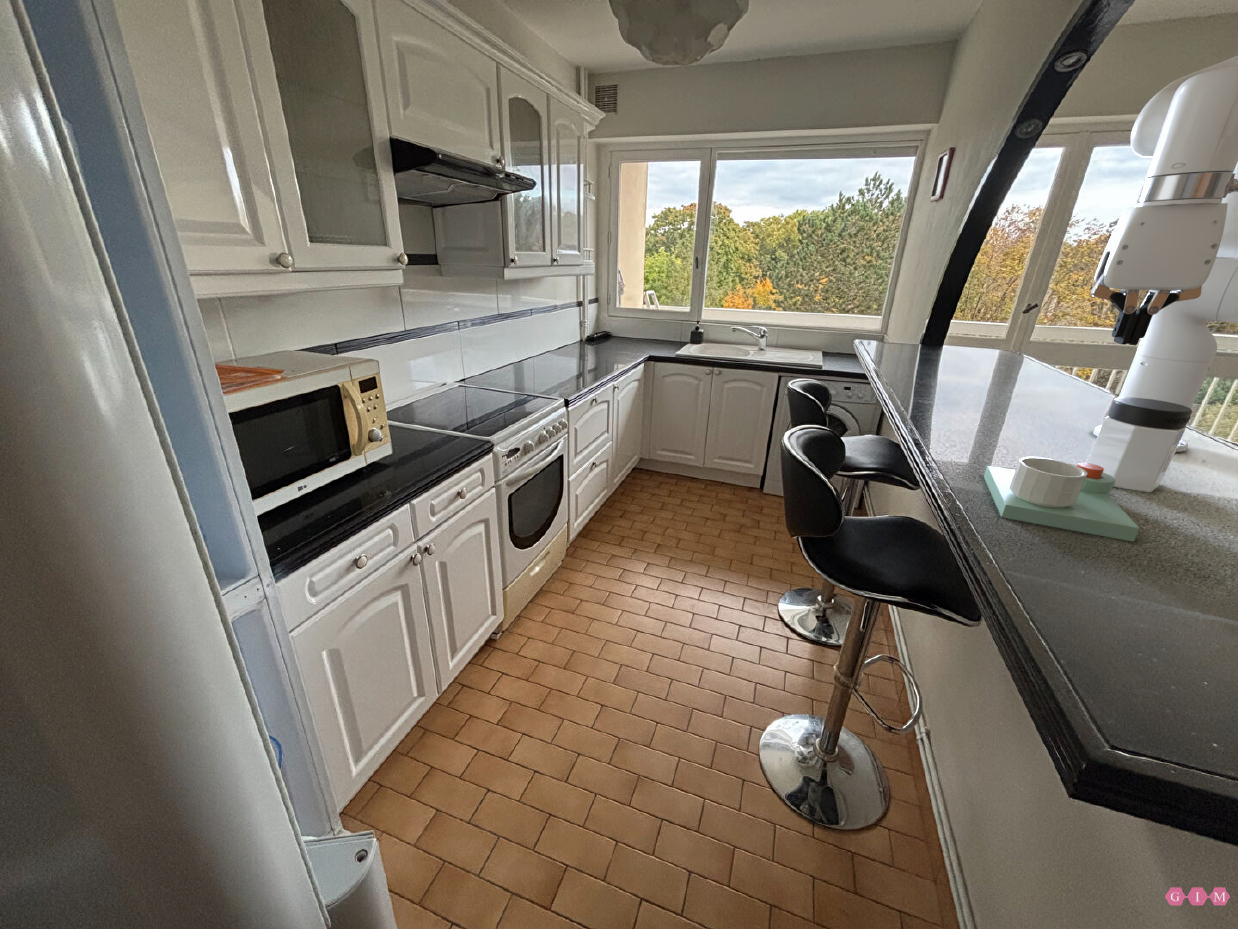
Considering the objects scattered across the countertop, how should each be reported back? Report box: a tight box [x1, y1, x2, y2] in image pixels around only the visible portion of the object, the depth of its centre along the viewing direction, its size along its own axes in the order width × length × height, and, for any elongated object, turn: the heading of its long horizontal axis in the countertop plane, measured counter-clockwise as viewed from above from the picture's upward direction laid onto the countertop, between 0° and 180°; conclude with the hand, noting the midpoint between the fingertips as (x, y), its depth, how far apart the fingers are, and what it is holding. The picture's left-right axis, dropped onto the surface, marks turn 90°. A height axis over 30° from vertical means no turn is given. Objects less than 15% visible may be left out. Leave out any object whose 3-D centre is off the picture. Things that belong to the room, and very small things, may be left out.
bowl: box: [1010, 456, 1088, 508], centre depth 65 cm, size 7×7×4 cm
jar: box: [1086, 397, 1193, 493], centre depth 75 cm, size 9×8×12 cm
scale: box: [983, 465, 1141, 543], centre depth 68 cm, size 16×14×4 cm
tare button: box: [1076, 462, 1104, 479], centre depth 70 cm, size 3×3×2 cm
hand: (1124, 342), depth 70 cm, fingers closed
